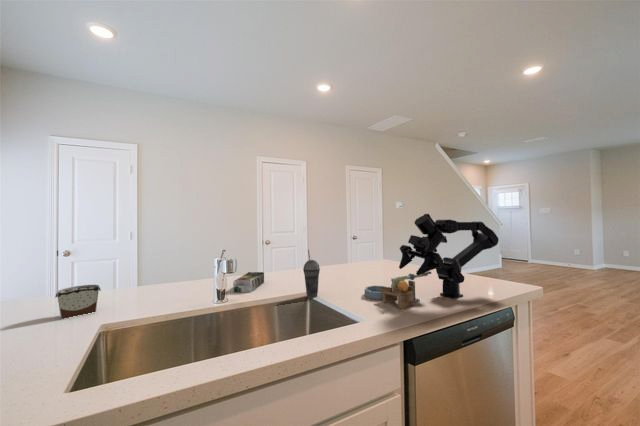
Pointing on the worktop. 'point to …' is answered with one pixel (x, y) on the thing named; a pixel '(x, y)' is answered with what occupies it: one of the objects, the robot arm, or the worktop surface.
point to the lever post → (412, 283)
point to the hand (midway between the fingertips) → (407, 271)
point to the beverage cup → (311, 277)
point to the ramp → (398, 296)
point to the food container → (77, 300)
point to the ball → (402, 286)
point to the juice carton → (248, 282)
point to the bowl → (373, 292)
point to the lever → (410, 276)
